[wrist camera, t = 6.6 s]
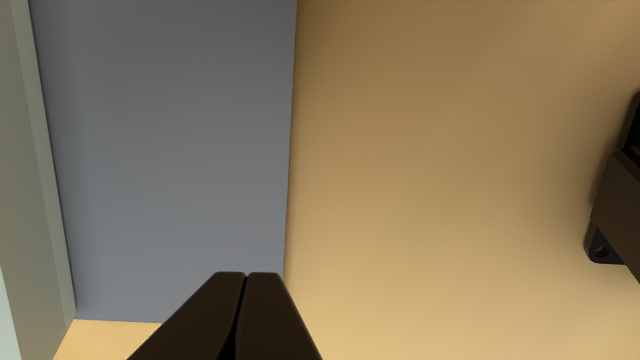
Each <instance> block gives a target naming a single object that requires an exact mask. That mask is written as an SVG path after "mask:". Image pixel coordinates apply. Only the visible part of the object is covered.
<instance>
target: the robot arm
mask: <svg viewBox="0 0 640 360" xmlns="http://www.w3.org/2000/svg"><path fill="white" fill-rule="evenodd" d="M590 217H591V219H592V223H591V226H590V229H589V232H588V235H587V238H586V241H585V244H584V251H585V253H586V255H587V256H588V258H589V259H590V260H591V261H592V262H594V263H599V264H618V265H626V266H627V267H628V269H629V270H630V271H631V273H632V274H633V275H634V277H635V278H636V279H637V281H638V282H639V283H640V92H639V93H638V94H636V95H635V97H634V98H633V100H632V102H631V105H630V108H629V111H628V114H627V117H626V120H625V123H624V126H623V129H622V132H621V135H620V138H619V141H618V144H617V147H616V150H614V151H613V152H612V153H611V154H610V157H609V160H608V163H607V166H606V169H605V172H604V175H603V178H602V181H601V184H600V187H599V190H598V193H597V196H596V199H595V202H594V205H593V208H592V211H591V215H590ZM601 246H604V248H603V249H602V250H600V251H596V250H597V248H599V247H601ZM127 360H323V359H322V357H321V355H320V353H319V351H318V349H317V347H316V345H315V343H314V341H313V339H312V337H311V335H310V333H309V331H308V329H307V328H306V326H305V324H304V322H303V320H302V318H301V316H300V314H299V312H298V310H297V308H296V306H295V304H294V302H293V300H292V298H291V296H290V294H289V292H288V290H287V288H286V286H285V284H284V282H283V280H282V278H281V276H280V275H279V274H278V273H276V272H251V273H249V274H248V276H247V275H246V273H244V272H235V271H218V272H216V273H214V274H213V275H212V276H211V277H210V278H209V279H208V280H207V281H206V282H205V283H204V284H203V285H202V286H201V287H200V288H199V289H198V290H197V291H196V292H195V293H193V294H192V295H191V296H190V297H189V298H188V299H187V300H186V301H185V302H184V303H183V304H182V305H181V306H180V307H179V308H178V309H177V310H176V311H175V312H174V313H173V314H172V315H171V316H170V317H169V318H168V319H167V320H166V321H165V322H164V323H163V324H162V325H161V326H160V327H159V328H158V329H157V330H156V331H155V332H154V333H153V334H152V335H151V336H150V337H149V338H148V339H147V340H146V341H145V342H144V343H143V344H142V345H141V346H140V347H139V348H138V349H137V350H136V351H135V352H134V353H133V354H132V355H131V356H130V357H129V358H128V359H127Z"/></svg>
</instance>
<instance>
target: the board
mask: <svg viewBox="0 0 640 360" xmlns="http://www.w3.org/2000/svg"><path fill="white" fill-rule="evenodd" d="M28 6H29V13H30V19H31V26H32V32H33V38H34V45H35V51H36V57H37V64H38V70H39V76H40V83H41V89H42V95H43V102H44V108H45V114H46V121H47V127H48V133H49V140H50V146H51V152H52V159H53V165H54V172H55V178H56V184H57V191H58V197H59V203H60V210H61V216H62V222H63V229H64V235H65V241H66V248H67V254H68V260H69V267H70V273H71V279H72V286H73V292H74V299H75V305H76V311H77V313H76V315H75V317H74V319H81V320H103V321H124V322H145V323H164V322H165V321H166V320H167V319H168V318H169V317H170V316H171V315H172V314H173V313H174V312H175V311H176V310H177V309H178V308H179V307H180V306H181V305H182V304H183V303H184V302H185V301H186V300H187V299H188V298H189V297H190V296H191V295H192V294H193V293H195V292H196V291H197V290H198V289H199V288H200V287H201V286H202V285H203V284H204V283H205V282H206V281H207V280H208V279H209V278H210V277H211V276H212V275H213V274H214V273H216V272H218V271H235V272H244V273H246V275H247V276H248V274H249V273H251V272H276V273H278V274H279V275H280V276H281V278H282V280H283V278H284V258H285V238H286V218H287V197H288V177H289V157H290V137H291V117H292V96H293V76H294V56H295V36H296V16H297V0H28Z"/></svg>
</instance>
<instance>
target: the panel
mask: <svg viewBox="0 0 640 360" xmlns="http://www.w3.org/2000/svg"><path fill="white" fill-rule="evenodd" d="M76 313H77V311H76V305H75V299H74V292H73V286H72V279H71V273H70V267H69V260H68V254H67V248H66V241H65V235H64V229H63V222H62V216H61V210H60V203H59V197H58V191H57V184H56V178H55V172H54V165H53V159H52V152H51V146H50V140H49V133H48V127H47V121H46V114H45V108H44V102H43V95H42V89H41V83H40V76H39V70H38V64H37V57H36V51H35V45H34V38H33V32H32V26H31V19H30V13H29V6H28V0H0V360H53V358H54V356H55V354H56V352H57V350H58V348H59V346H60V344H61V342H62V340H63V338H64V336H65V334H66V332H67V330H68V328H69V327H70V325H71V323H72V321H73V319H74V317H75V315H76Z"/></svg>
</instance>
